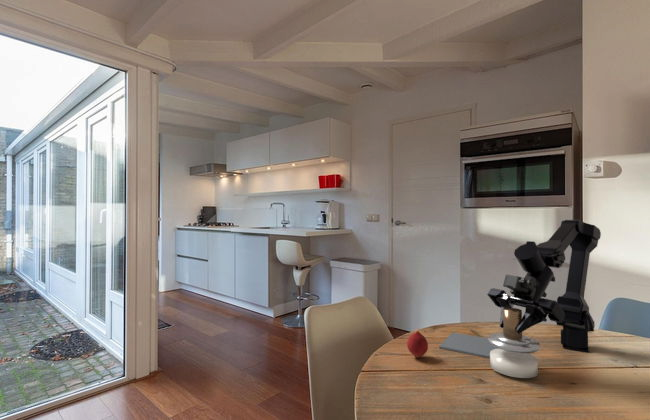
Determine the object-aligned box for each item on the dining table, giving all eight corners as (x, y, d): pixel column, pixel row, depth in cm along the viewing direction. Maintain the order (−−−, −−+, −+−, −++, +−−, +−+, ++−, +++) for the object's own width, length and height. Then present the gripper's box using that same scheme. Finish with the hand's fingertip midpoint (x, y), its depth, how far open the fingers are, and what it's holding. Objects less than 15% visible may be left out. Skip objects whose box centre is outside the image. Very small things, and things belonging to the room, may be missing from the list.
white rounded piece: (539, 369, 93) (538, 353, 93) (536, 385, 84) (536, 368, 84) (493, 359, 99) (493, 345, 99) (486, 374, 90) (486, 358, 90)
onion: (425, 354, 103) (425, 327, 103) (429, 362, 98) (429, 333, 98) (406, 353, 104) (405, 326, 104) (408, 361, 98) (408, 332, 98)
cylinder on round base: (540, 341, 93) (540, 307, 93) (538, 356, 83) (537, 318, 83) (491, 333, 100) (491, 302, 100) (483, 346, 90) (483, 311, 90)
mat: (503, 343, 112) (503, 341, 112) (495, 359, 99) (495, 357, 99) (452, 334, 121) (452, 332, 121) (439, 348, 108) (439, 346, 108)
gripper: (491, 260, 102) (464, 302, 97) (556, 268, 85) (528, 319, 80) (509, 284, 105) (484, 326, 100) (576, 297, 89) (550, 348, 83)
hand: (509, 329), depth 91 cm, fingers closed on cylinder on round base, 4 cm apart
